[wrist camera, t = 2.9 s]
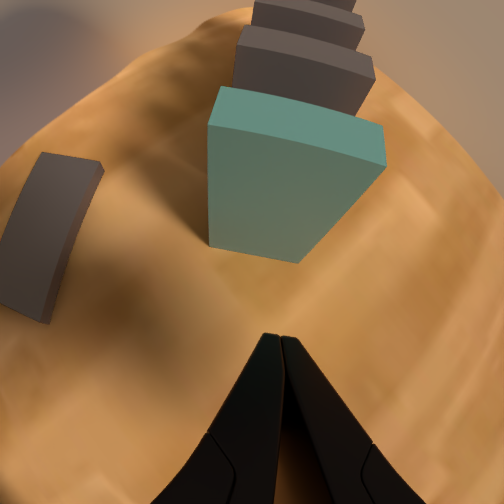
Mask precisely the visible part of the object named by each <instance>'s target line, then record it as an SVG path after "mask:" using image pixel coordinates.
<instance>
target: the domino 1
mask: <svg viewBox="0 0 504 504" xmlns="http://www.w3.org/2000/svg"><path fill="white" fill-rule="evenodd" d="M104 172H105V170H104V169H103V167H102V165H101V163H100V162H99V161H93V160H88V159H82V158H76V157H70V156H64V155H58V154H51V153H45V152H42V153H41V155H40V156H39V158H38V160H37V162H36V164H35V166H34V168H33V169H32V171H31V173H30V175H29V177H28V179H27V181H26V183H25V185H24V187H23V189H22V192H21V194H20V196H19V198H18V200H17V202H16V205H15V207H14V209H13V211H12V214H11V216H10V219H9V221H8V223H7V226H6V228H5V231H4V234H3V236H2V239H1V241H0V303H1V304H3V305H5V306H7V307H9V308H11V309H13V310H15V311H17V312H19V313H21V314H23V315H25V316H27V317H29V318H31V319H33V320H36V321H38V322H40V323H45V324H49V323H50V319H51V315H52V311H53V308H54V304H55V301H56V297H57V294H58V290H59V287H60V284H61V280H62V277H63V274H64V271H65V268H66V265H67V262H68V259H69V256H70V253H71V251H72V248H73V245H74V242H75V240H76V237H77V234H78V232H79V229H80V227H81V224H82V222H83V219H84V217H85V214H86V212H87V209H88V207H89V205H90V202H91V200H92V198H93V195H94V193H95V191H96V189H97V186H98V184H99V182H100V180H101V178H102V176H103V174H104Z"/></svg>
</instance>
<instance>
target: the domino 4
mask: <svg viewBox="0 0 504 504" xmlns="http://www.w3.org/2000/svg"><path fill="white" fill-rule="evenodd" d="M207 153H208V223H209V247H214V248H219V249H224V250H229V251H235V252H240V253H245V254H250V255H256V256H261V257H266V258H272V259H277V260H282V261H287V262H293V263H299V262H300V261H301V260H302V259H303V258H304V257H305V256H306V255H307V254H308V253H309V252H310V251H311V250H312V248H313V247H314V246H315V245H316V244H317V243H318V242H319V241H320V240H321V239H322V238H323V237H324V236H325V235H326V234H327V232H328V231H329V230H330V229H331V228H332V227H333V226H334V225H335V224H336V223H337V222H338V221H339V220H340V218H341V217H342V216H343V215H344V214H345V213H346V212H347V211H348V210H349V209H350V207H351V206H352V205H353V204H354V203H355V202H356V201H357V200H358V199H359V198H360V196H361V195H362V194H363V193H364V192H365V191H366V190H367V189H368V188H369V186H370V185H371V184H372V183H373V182H374V181H375V180H376V179H377V177H378V176H379V175H380V174H381V173H382V172H383V171H384V169H385V168H386V167H387V162H386V151H385V142H384V133H383V126H382V125H379V124H376V123H373V122H370V121H367V120H364V119H361V118H358V117H355V116H351V115H348V114H345V113H342V112H338V111H335V110H331V109H328V108H324V107H320V106H316V105H313V104H309V103H305V102H301V101H297V100H292V99H288V98H284V97H279V96H274V95H270V94H265V93H259V92H254V91H249V90H243V89H237V88H231V87H225V86H221V87H220V90H219V93H218V95H217V98H216V101H215V104H214V107H213V110H212V113H211V116H210V119H209V122H208V139H207Z"/></svg>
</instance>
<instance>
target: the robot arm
mask: <svg viewBox="0 0 504 504" xmlns="http://www.w3.org/2000/svg"><path fill="white" fill-rule="evenodd" d="M372 443H373V441H372V439H371V438H370V437H369V435H368V434H367V433H366V431H365V430H364V429H363V427H362V426H361V425H360V423H359V422H358V421H357V419H356V418H355V416H354V415H353V414H352V412H351V411H350V410H349V408H348V407H347V406H346V404H345V403H344V401H343V400H342V399H341V397H340V396H339V395H338V393H337V392H336V390H335V389H334V388H333V386H332V385H331V384H330V382H329V381H328V379H327V378H326V377H325V375H324V374H323V373H322V371H321V370H320V368H319V367H318V366H317V364H316V363H315V361H314V360H313V359H312V357H311V356H310V355H309V353H308V352H307V350H306V349H305V348H304V346H303V345H302V343H301V342H300V341H299V339H297V338H296V337H290V336H281V337H280V336H279V335H277V334H271V333H263V334H262V336H261V338H260V339H259V341H258V343H257V345H256V347H255V349H254V350H253V352H252V354H251V356H250V358H249V359H248V361H247V363H246V365H245V366H244V368H243V370H242V372H241V374H240V375H239V377H238V379H237V381H236V382H235V384H234V386H233V387H232V389H231V391H230V393H229V394H228V396H227V398H226V400H225V401H224V403H223V405H222V406H221V408H220V410H219V411H218V413H217V415H216V417H215V418H214V420H213V422H212V423H211V425H210V427H209V428H208V430H207V433H205V434H204V436H203V438H202V439H201V441H200V443H199V444H198V446H197V447H196V449H195V450H194V452H193V453H192V455H191V456H190V458H189V459H188V461H187V462H186V463H185V465H184V466H183V467H182V469H181V470H180V471H179V472H178V473H177V475H176V476H175V477H174V478H173V479H172V481H171V482H170V483H169V484H168V485H167V486H166V487H165V488H164V490H163V491H162V492H161V493H160V494H159V495H158V496H157V497H156V498H155V499H154V500H153V501H152V502H151V503H150V504H426V503H425V502H424V501H423V500H422V499H421V498H420V497H419V496H418V495H417V494H416V493H415V492H414V491H413V489H412V488H411V487H410V486H409V485H408V484H407V483H406V482H405V481H404V480H403V479H402V477H401V476H400V475H399V474H398V473H397V472H396V471H395V469H394V468H393V467H392V466H391V464H390V463H389V462H388V461H387V459H386V458H385V457H384V455H383V454H382V453H381V451H380V450H379V449H378V447H377V446H376V445H375V444H372Z"/></svg>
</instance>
